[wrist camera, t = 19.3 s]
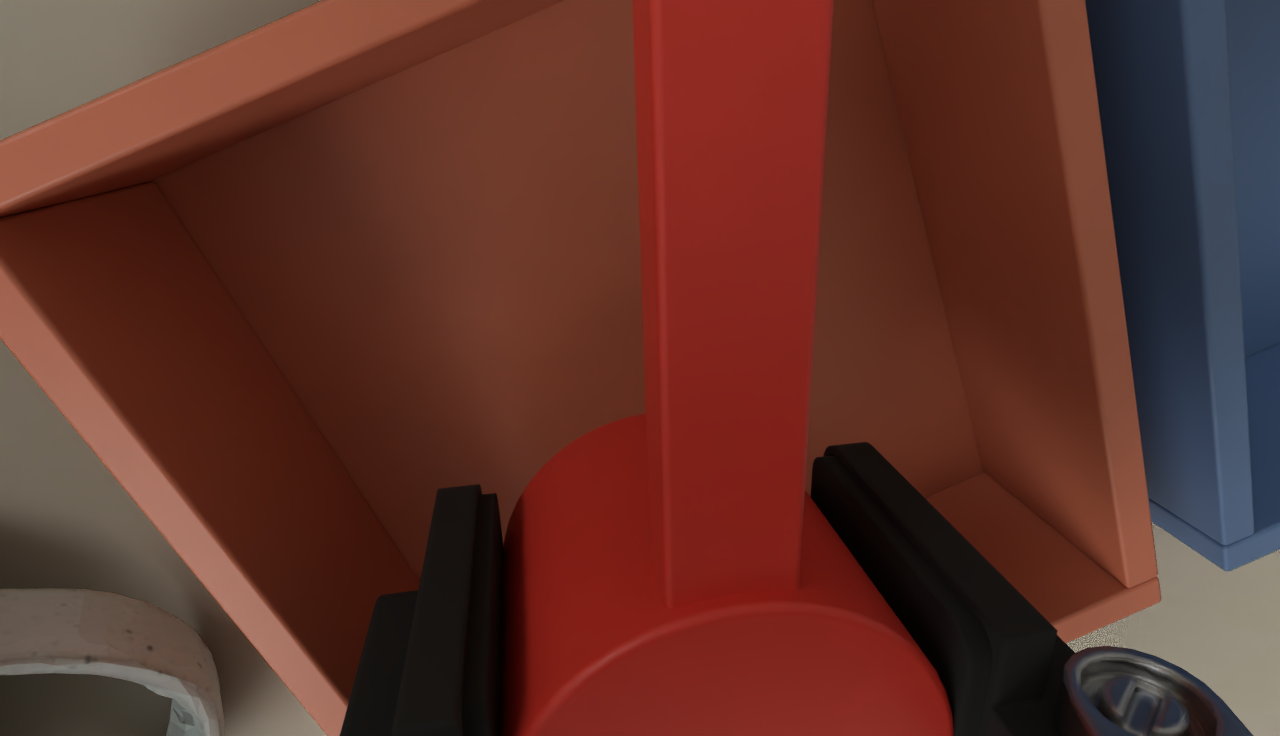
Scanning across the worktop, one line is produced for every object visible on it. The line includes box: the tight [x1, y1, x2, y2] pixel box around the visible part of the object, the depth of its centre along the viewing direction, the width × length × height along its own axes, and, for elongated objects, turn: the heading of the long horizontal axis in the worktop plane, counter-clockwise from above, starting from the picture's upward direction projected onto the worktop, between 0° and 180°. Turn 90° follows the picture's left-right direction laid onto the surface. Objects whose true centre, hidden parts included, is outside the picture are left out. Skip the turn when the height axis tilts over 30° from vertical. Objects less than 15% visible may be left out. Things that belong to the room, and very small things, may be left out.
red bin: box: [0, 0, 1161, 736], centre depth 10 cm, size 11×11×4 cm
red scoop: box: [500, 0, 954, 736], centre depth 8 cm, size 9×4×4 cm, turn 2°
